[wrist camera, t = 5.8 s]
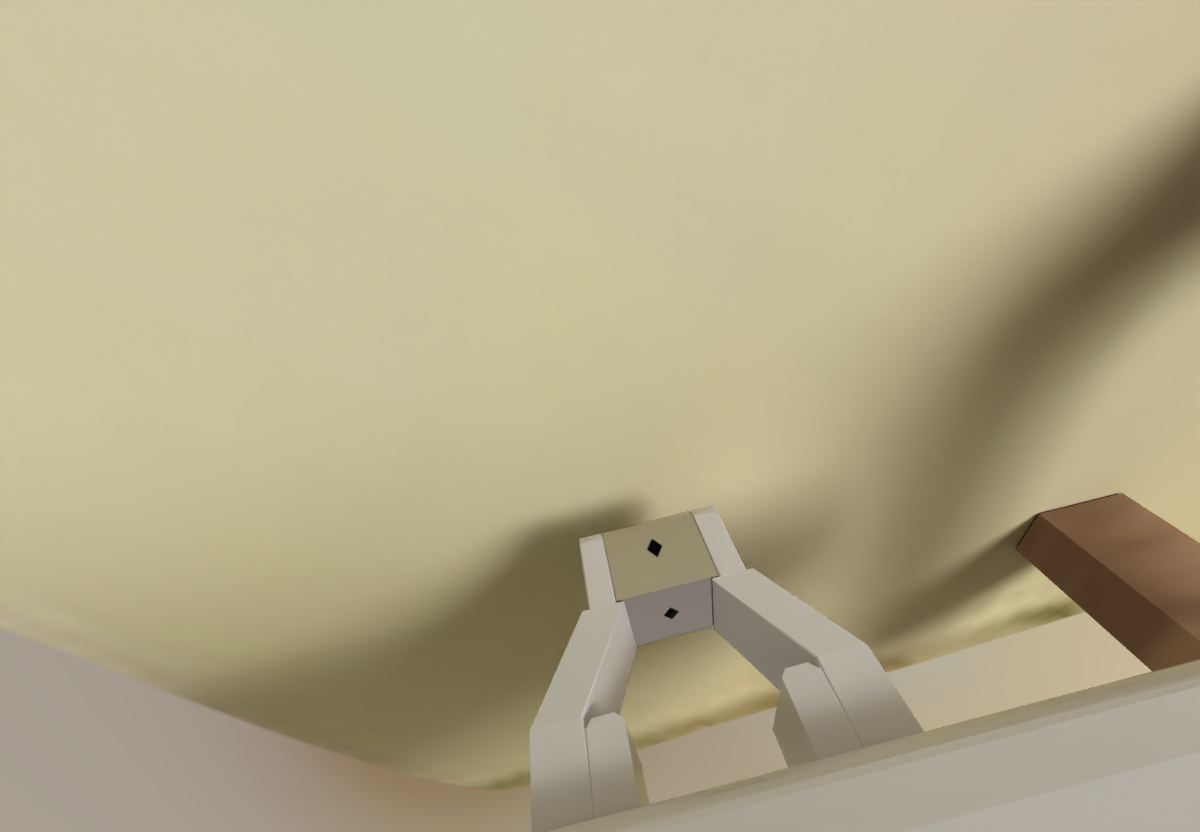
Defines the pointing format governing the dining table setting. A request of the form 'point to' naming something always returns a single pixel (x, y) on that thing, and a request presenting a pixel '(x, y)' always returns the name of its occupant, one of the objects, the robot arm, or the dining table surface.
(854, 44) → the dining table surface
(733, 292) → the dining table surface
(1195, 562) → the bridge
